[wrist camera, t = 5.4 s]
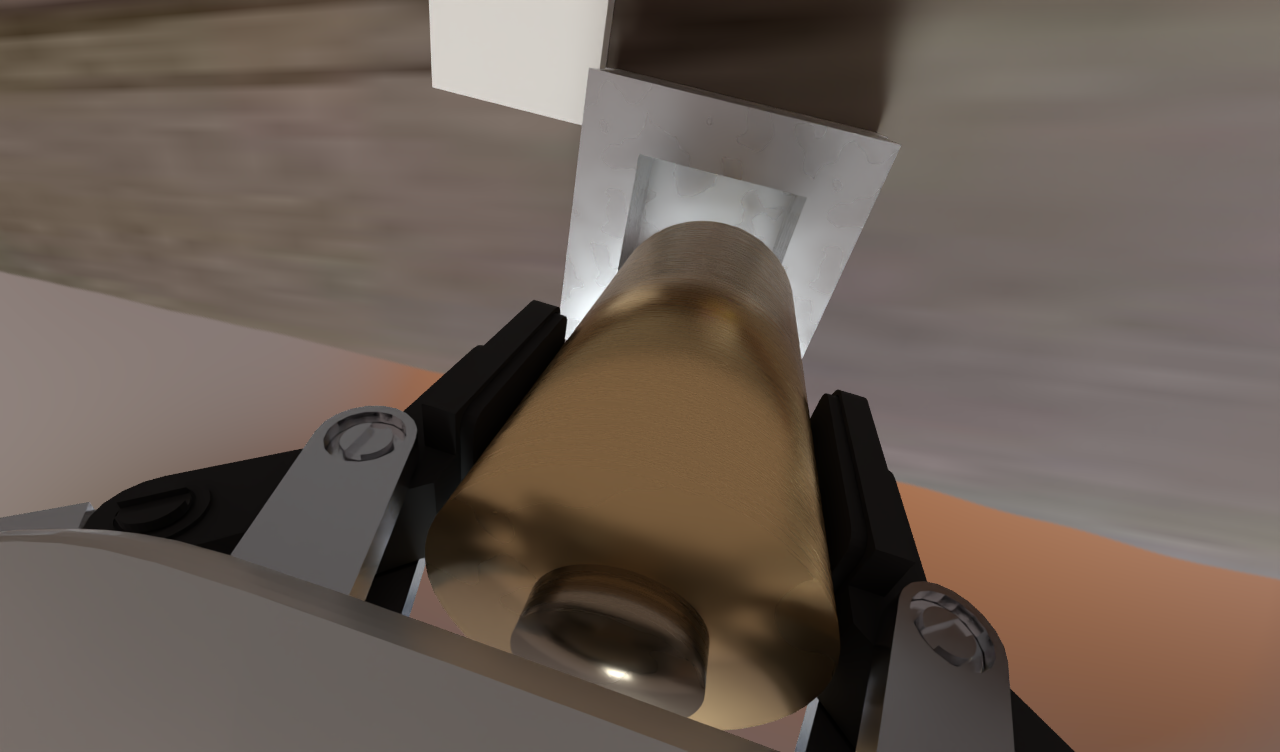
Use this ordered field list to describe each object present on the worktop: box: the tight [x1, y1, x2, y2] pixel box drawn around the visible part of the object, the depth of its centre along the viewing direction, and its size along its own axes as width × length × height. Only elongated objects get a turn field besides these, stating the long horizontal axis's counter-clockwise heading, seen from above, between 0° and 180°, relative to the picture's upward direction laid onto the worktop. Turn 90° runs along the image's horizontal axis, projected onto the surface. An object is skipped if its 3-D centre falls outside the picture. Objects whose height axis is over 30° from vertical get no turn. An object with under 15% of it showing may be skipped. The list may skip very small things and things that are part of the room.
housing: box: [560, 67, 901, 358], centre depth 22 cm, size 12×11×6 cm
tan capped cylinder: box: [425, 221, 841, 730], centre depth 10 cm, size 5×5×11 cm
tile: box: [429, 0, 615, 125], centre depth 21 cm, size 8×8×1 cm
